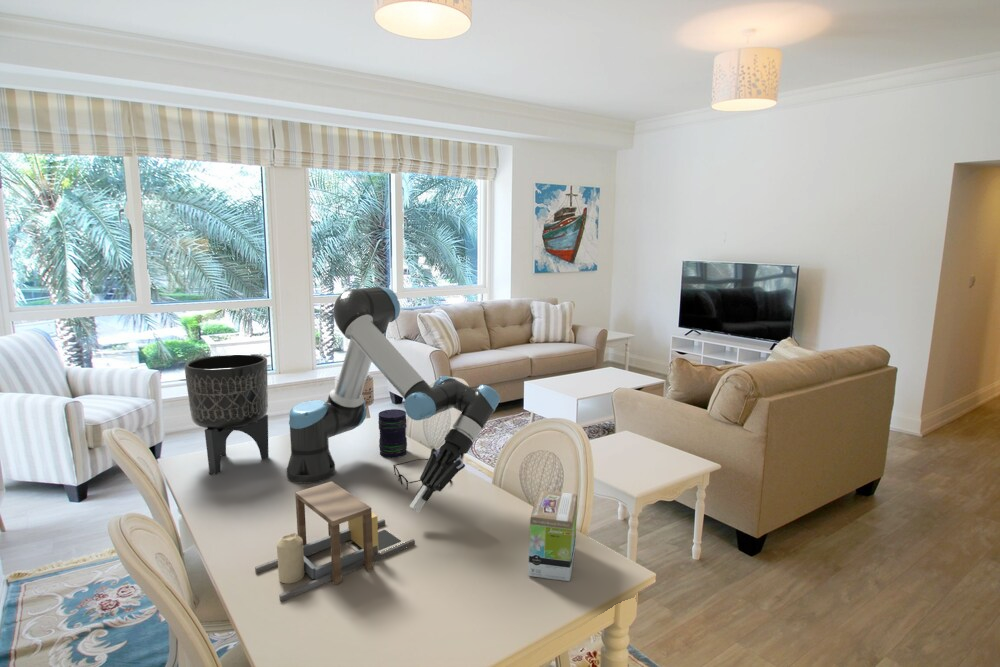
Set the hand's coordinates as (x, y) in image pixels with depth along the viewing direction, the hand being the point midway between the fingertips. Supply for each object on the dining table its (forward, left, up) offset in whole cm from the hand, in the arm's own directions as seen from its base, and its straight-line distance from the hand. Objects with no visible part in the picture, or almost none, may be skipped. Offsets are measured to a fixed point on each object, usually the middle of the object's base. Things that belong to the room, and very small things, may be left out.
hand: (414, 509), depth 151 cm
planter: (-80, -20, -5) cm, 83 cm away
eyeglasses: (-25, +20, -6) cm, 33 cm away
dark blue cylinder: (-50, +25, -5) cm, 56 cm away
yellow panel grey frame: (0, -23, -5) cm, 23 cm away
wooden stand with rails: (0, -23, -5) cm, 23 cm away
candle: (0, -34, -5) cm, 34 cm away
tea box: (+36, +15, -5) cm, 39 cm away
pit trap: (0, -12, -5) cm, 13 cm away
